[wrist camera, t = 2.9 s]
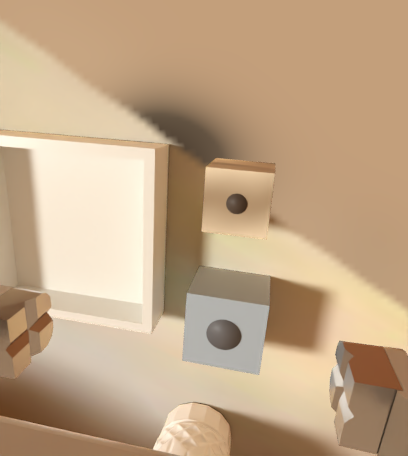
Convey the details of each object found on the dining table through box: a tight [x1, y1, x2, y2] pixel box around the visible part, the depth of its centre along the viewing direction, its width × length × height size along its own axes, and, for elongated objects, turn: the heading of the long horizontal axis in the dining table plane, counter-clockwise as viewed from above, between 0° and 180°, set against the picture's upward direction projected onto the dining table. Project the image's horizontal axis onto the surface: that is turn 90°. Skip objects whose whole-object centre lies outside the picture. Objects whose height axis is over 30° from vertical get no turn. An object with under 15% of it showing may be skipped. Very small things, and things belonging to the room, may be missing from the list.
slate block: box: [182, 266, 270, 375], centre depth 29 cm, size 6×6×5 cm
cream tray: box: [0, 130, 169, 334], centre depth 30 cm, size 15×15×4 cm
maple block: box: [201, 158, 275, 240], centre depth 26 cm, size 4×4×5 cm
